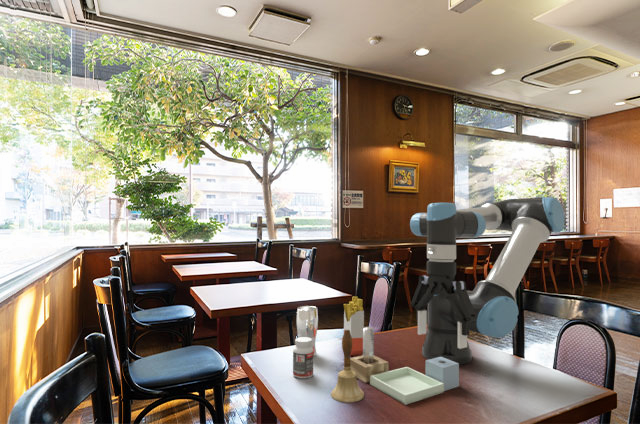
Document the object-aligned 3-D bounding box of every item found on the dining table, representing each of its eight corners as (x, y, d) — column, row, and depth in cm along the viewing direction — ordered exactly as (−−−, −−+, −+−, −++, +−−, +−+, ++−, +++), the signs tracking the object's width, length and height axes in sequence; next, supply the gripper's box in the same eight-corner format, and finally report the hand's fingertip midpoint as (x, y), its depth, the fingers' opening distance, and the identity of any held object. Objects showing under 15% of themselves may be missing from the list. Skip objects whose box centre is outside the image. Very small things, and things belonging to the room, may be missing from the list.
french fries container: (350, 358, 119) (350, 301, 120) (342, 347, 130) (342, 295, 130) (364, 358, 120) (364, 301, 120) (355, 347, 131) (355, 294, 131)
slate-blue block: (441, 378, 105) (441, 356, 105) (459, 386, 99) (458, 363, 100) (425, 383, 102) (425, 360, 102) (443, 391, 96) (443, 367, 97)
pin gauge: (369, 371, 109) (369, 326, 109) (375, 375, 106) (375, 328, 107) (360, 373, 107) (360, 327, 108) (367, 377, 105) (367, 330, 105)
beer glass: (291, 354, 123) (292, 308, 123) (307, 349, 128) (307, 304, 128) (307, 360, 118) (307, 311, 118) (322, 354, 123) (322, 308, 124)
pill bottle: (310, 380, 103) (310, 343, 103) (290, 378, 104) (290, 341, 104) (315, 372, 108) (315, 337, 109) (295, 370, 110) (296, 335, 110)
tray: (406, 374, 107) (406, 366, 107) (444, 392, 96) (443, 383, 96) (370, 384, 100) (370, 375, 100) (405, 404, 89) (405, 395, 89)
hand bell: (324, 396, 93) (324, 330, 94) (344, 385, 100) (344, 324, 100) (351, 406, 88) (351, 337, 89) (370, 394, 94) (370, 329, 95)
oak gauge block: (370, 367, 112) (370, 353, 112) (388, 376, 105) (388, 362, 105) (348, 372, 108) (348, 358, 108) (365, 382, 101) (365, 367, 101)
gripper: (398, 257, 110) (398, 330, 109) (471, 265, 89) (472, 356, 88) (417, 256, 114) (417, 327, 113) (491, 264, 93) (492, 351, 92)
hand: (441, 340), depth 101 cm, fingers open, 13 cm apart
